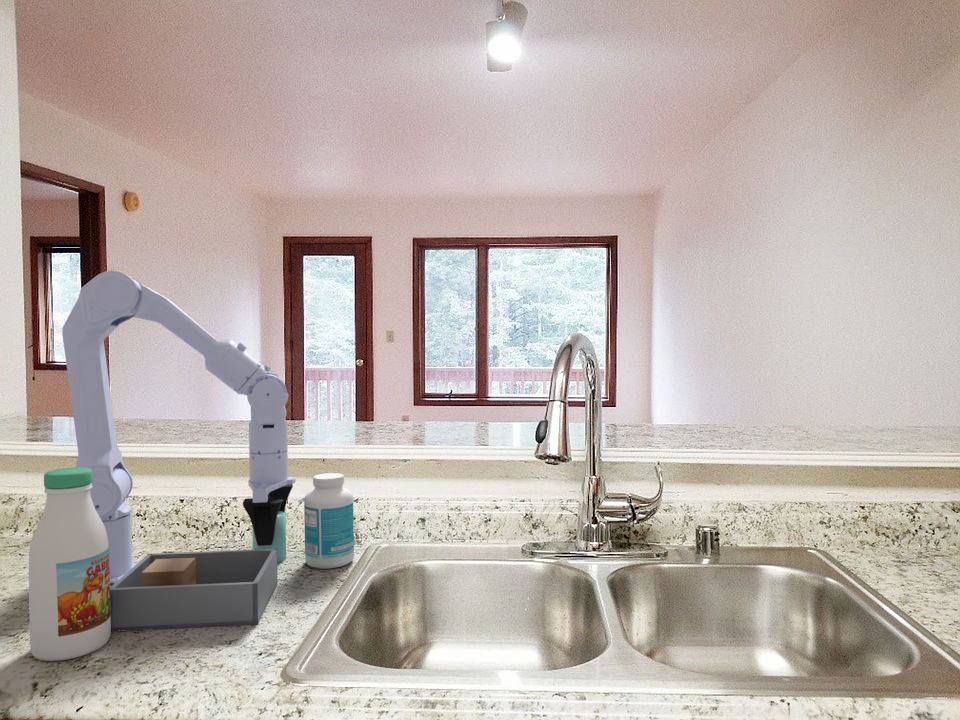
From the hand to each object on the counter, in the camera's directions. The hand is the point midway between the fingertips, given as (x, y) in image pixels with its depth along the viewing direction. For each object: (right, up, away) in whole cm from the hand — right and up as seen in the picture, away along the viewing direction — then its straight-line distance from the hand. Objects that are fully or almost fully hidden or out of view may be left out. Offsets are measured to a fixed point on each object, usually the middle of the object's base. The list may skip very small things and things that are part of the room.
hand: (269, 537), depth 103 cm
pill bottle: (+10, -4, -1) cm, 10 cm away
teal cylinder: (0, -4, 0) cm, 4 cm away
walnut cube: (-7, -4, -18) cm, 20 cm away
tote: (-3, -4, -18) cm, 19 cm away
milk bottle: (-13, -5, -29) cm, 32 cm away
